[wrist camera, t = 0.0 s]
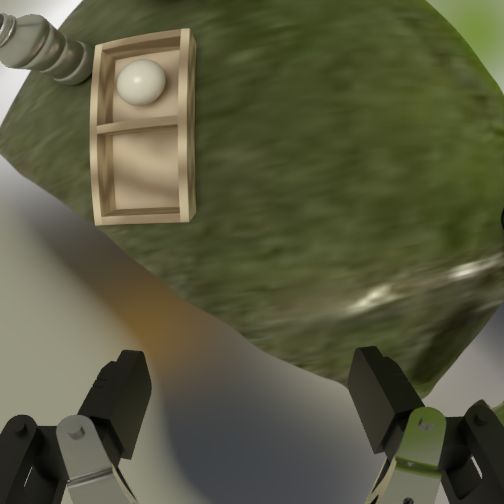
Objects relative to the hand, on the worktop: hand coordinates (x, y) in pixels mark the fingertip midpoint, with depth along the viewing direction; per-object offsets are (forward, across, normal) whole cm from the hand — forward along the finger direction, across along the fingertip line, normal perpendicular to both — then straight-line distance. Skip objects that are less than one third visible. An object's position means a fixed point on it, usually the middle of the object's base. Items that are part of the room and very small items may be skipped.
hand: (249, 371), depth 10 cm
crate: (+29, +12, -12) cm, 34 cm away
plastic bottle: (+30, +23, -23) cm, 44 cm away
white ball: (+28, +12, -18) cm, 36 cm away
